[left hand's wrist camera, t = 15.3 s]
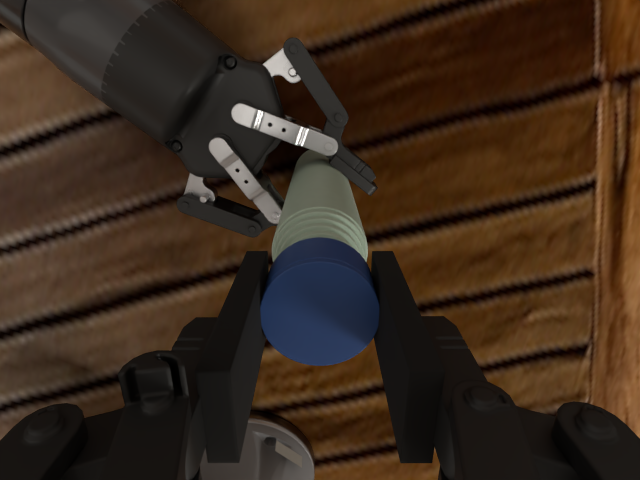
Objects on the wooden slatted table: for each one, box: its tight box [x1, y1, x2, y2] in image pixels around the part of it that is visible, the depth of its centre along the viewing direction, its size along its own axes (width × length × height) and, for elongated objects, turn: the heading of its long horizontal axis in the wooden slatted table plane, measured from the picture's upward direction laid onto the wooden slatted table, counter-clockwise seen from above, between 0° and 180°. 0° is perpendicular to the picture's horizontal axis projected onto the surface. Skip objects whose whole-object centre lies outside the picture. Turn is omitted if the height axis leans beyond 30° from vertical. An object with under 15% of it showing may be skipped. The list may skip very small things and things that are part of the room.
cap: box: [260, 237, 379, 366], centre depth 14 cm, size 4×4×2 cm
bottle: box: [272, 150, 368, 262], centre depth 24 cm, size 4×4×22 cm
